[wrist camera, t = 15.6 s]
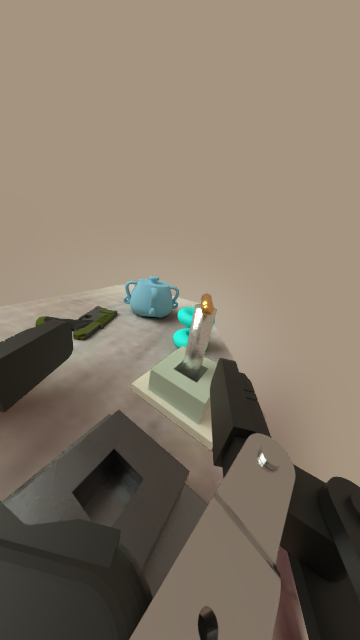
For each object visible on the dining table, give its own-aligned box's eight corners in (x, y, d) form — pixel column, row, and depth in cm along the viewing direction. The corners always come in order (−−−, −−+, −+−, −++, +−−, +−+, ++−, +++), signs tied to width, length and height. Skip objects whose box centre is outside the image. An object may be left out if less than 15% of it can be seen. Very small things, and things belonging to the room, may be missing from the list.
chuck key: (194, 405, 28) (221, 308, 21) (175, 400, 28) (196, 303, 21) (195, 377, 34) (217, 294, 27) (180, 373, 34) (197, 290, 27)
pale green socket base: (131, 389, 31) (133, 363, 28) (169, 359, 40) (173, 338, 38) (211, 450, 24) (223, 422, 21) (234, 397, 33) (244, 373, 31)
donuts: (171, 311, 42) (187, 303, 50) (166, 345, 46) (181, 332, 54) (209, 324, 38) (219, 313, 47) (200, 360, 42) (210, 343, 51)
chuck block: (-7, 519, 15) (-28, 486, 13) (109, 420, 25) (109, 391, 22) (108, 801, 8) (109, 844, 6) (206, 513, 18) (222, 484, 16)
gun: (77, 307, 59) (119, 316, 59) (27, 331, 41) (87, 344, 41) (77, 300, 58) (120, 309, 58) (26, 322, 40) (87, 335, 40)
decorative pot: (153, 302, 75) (157, 271, 69) (180, 316, 66) (186, 281, 60) (119, 308, 63) (120, 271, 58) (146, 325, 54) (151, 283, 49)
